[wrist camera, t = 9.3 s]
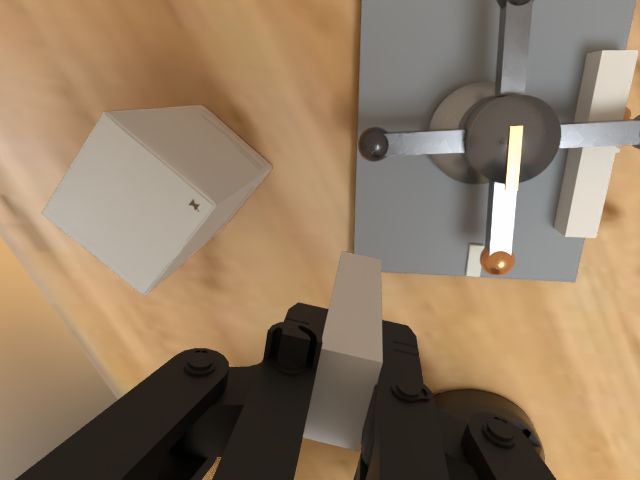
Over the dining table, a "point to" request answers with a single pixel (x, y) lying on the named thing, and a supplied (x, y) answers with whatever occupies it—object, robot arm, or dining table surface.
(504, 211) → the capstan
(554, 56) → the stand
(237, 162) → the supplement box
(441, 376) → the dining table surface
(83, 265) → the dining table surface
